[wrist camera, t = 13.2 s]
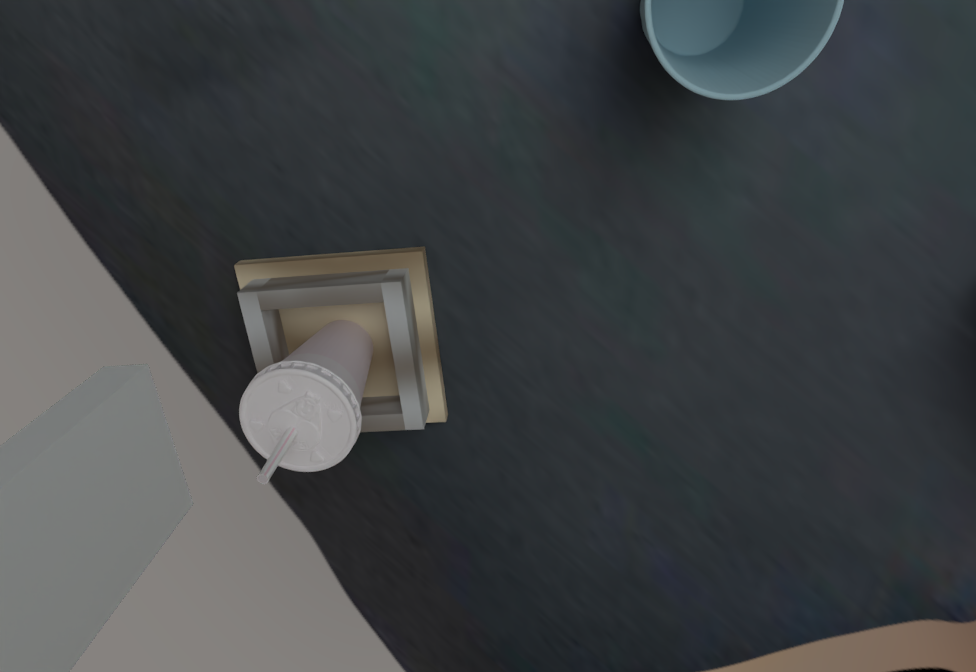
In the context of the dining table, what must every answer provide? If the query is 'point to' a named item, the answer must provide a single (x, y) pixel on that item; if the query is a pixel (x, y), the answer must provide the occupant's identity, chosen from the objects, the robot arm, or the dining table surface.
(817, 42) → the cup
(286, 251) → the dining table surface
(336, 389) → the smoothie
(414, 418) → the tray
